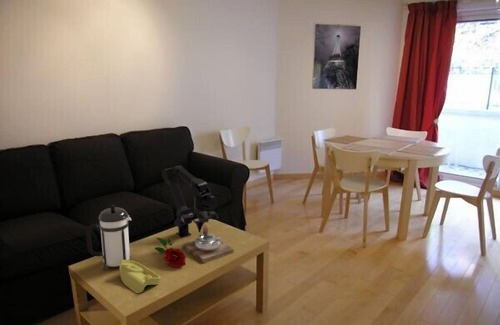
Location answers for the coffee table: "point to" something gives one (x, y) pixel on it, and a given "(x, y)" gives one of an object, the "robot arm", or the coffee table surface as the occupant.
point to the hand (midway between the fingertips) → (199, 232)
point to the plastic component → (137, 275)
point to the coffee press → (112, 236)
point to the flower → (172, 254)
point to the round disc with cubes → (207, 241)
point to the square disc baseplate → (208, 255)
